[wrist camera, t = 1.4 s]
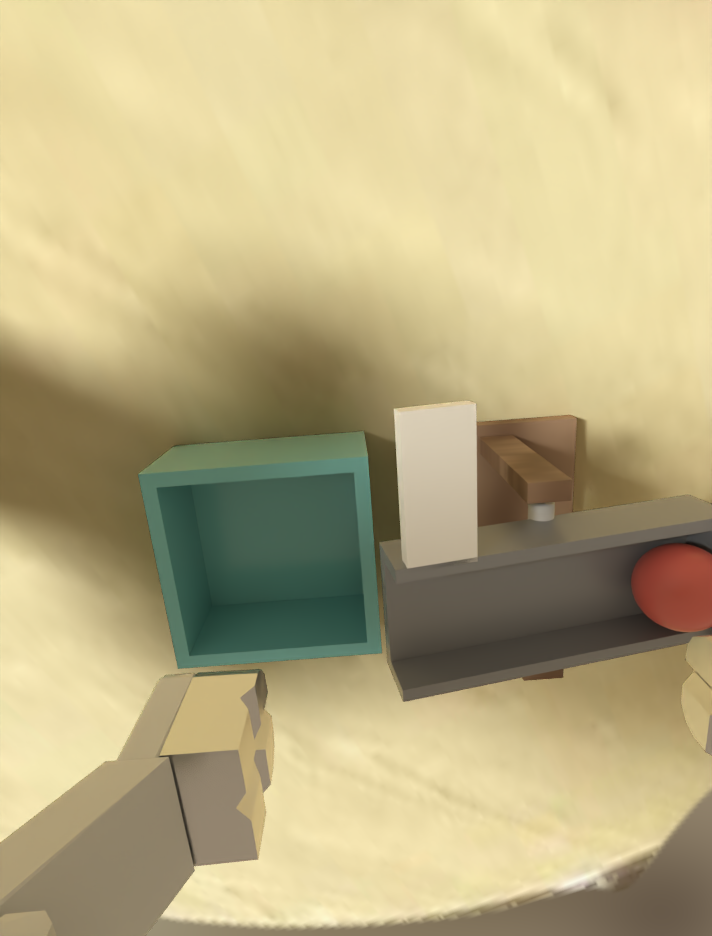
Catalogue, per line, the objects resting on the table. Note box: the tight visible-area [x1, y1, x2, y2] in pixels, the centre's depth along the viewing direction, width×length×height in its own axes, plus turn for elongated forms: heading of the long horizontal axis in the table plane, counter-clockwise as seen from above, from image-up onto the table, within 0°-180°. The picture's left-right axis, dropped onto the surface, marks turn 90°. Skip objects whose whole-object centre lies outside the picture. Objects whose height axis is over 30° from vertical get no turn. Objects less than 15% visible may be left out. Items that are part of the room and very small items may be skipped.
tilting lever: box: [379, 400, 712, 702], centre depth 24 cm, size 16×14×5 cm
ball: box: [631, 543, 712, 632], centre depth 24 cm, size 4×4×4 cm
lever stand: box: [476, 415, 577, 680], centre depth 30 cm, size 10×12×10 cm
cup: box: [138, 431, 382, 669], centre depth 32 cm, size 12×12×6 cm
